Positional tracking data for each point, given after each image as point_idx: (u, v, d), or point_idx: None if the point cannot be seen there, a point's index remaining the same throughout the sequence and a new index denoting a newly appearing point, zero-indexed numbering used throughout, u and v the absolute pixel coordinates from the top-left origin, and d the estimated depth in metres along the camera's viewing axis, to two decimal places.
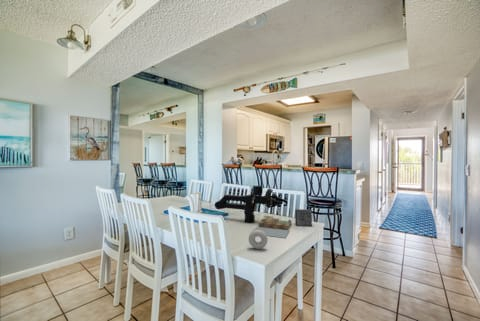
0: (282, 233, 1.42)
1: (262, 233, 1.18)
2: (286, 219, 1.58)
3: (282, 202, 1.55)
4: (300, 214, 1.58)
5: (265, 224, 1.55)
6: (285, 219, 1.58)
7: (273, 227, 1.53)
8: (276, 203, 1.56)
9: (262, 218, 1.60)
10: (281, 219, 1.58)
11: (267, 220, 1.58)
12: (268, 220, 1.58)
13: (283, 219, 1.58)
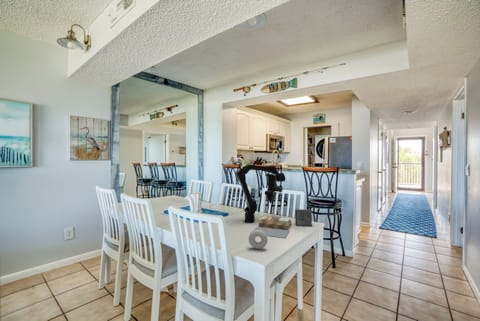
0: (282, 233, 1.42)
1: (262, 233, 1.18)
2: (286, 219, 1.58)
3: None
4: (300, 214, 1.58)
5: (265, 224, 1.55)
6: (285, 219, 1.58)
7: (273, 227, 1.53)
8: (269, 198, 1.71)
9: (262, 218, 1.60)
10: (281, 219, 1.58)
11: (267, 220, 1.58)
12: (268, 220, 1.58)
13: (283, 219, 1.58)
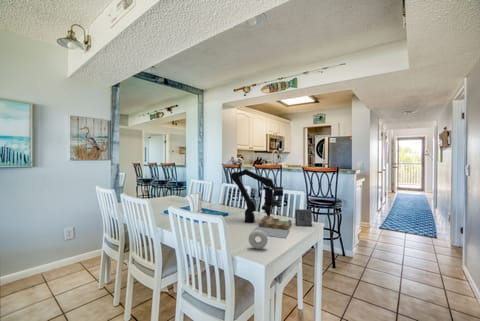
0: (282, 233, 1.42)
1: (262, 233, 1.18)
2: (286, 219, 1.58)
3: None
4: (300, 214, 1.58)
5: (265, 224, 1.55)
6: (285, 219, 1.58)
7: (273, 227, 1.53)
8: (267, 212, 1.65)
9: (262, 218, 1.60)
10: (281, 219, 1.58)
11: (267, 220, 1.58)
12: (268, 220, 1.58)
13: (283, 219, 1.58)
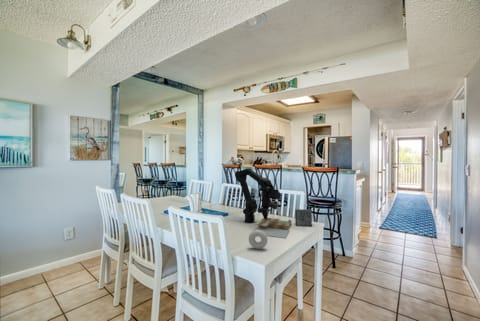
0: (282, 233, 1.42)
1: (262, 233, 1.18)
2: (286, 219, 1.58)
3: None
4: (300, 214, 1.58)
5: None
6: (285, 219, 1.58)
7: (273, 227, 1.53)
8: (264, 214, 1.57)
9: (258, 222, 1.52)
10: (281, 219, 1.58)
11: (263, 224, 1.50)
12: (264, 224, 1.50)
13: (283, 219, 1.58)
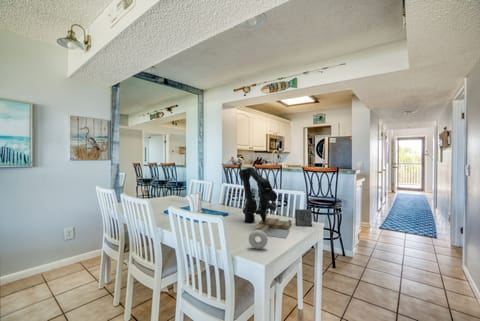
0: (282, 233, 1.42)
1: (262, 233, 1.18)
2: (286, 219, 1.58)
3: None
4: (300, 214, 1.58)
5: (265, 224, 1.55)
6: (285, 219, 1.58)
7: (273, 227, 1.53)
8: (262, 216, 1.53)
9: (257, 227, 1.49)
10: (281, 219, 1.58)
11: (262, 229, 1.47)
12: (263, 229, 1.47)
13: (283, 219, 1.58)
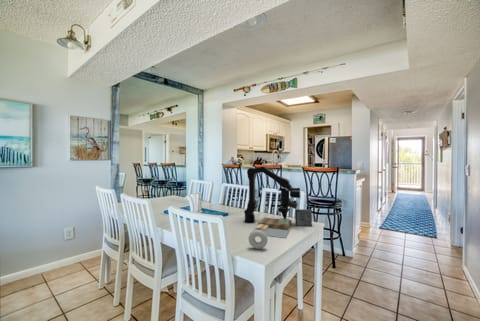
0: (282, 233, 1.42)
1: (262, 233, 1.18)
2: (286, 220, 1.56)
3: None
4: (300, 214, 1.58)
5: (265, 224, 1.55)
6: (285, 220, 1.56)
7: (273, 227, 1.53)
8: (284, 214, 1.60)
9: (257, 227, 1.49)
10: (281, 220, 1.56)
11: (262, 229, 1.47)
12: (263, 229, 1.47)
13: (283, 220, 1.56)
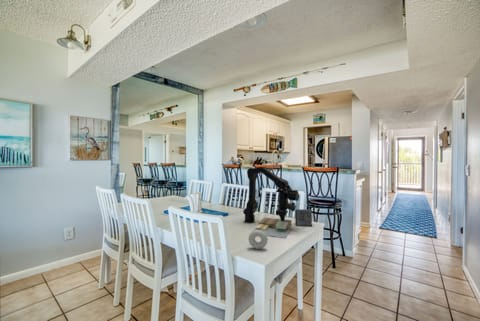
0: (282, 233, 1.42)
1: (262, 233, 1.18)
2: (284, 223, 1.48)
3: None
4: (300, 214, 1.58)
5: (265, 224, 1.55)
6: (282, 223, 1.48)
7: (273, 227, 1.53)
8: (282, 216, 1.52)
9: (257, 227, 1.49)
10: (278, 223, 1.49)
11: (262, 229, 1.47)
12: (263, 229, 1.47)
13: (280, 223, 1.49)
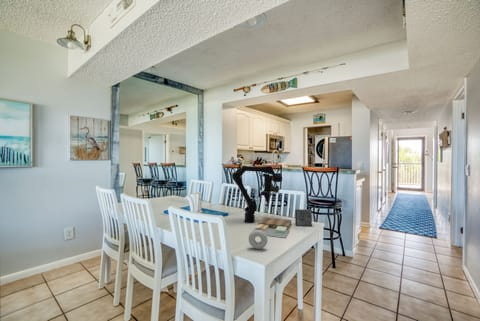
0: (282, 233, 1.42)
1: (262, 233, 1.18)
2: (283, 228, 1.46)
3: None
4: (300, 214, 1.58)
5: (265, 224, 1.55)
6: (282, 228, 1.46)
7: (273, 227, 1.53)
8: (267, 198, 1.71)
9: (257, 227, 1.49)
10: (278, 228, 1.46)
11: (262, 229, 1.47)
12: (263, 229, 1.47)
13: (280, 228, 1.46)
